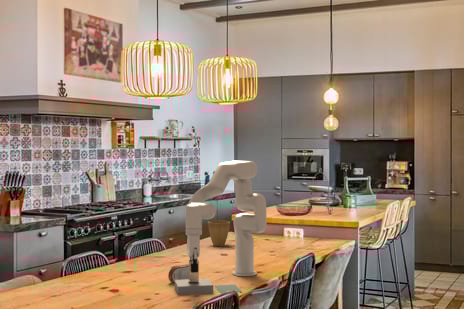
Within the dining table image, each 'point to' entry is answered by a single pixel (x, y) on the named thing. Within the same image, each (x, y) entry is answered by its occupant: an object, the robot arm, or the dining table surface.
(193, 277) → the plug
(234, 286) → the mat
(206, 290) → the grey plate with hole
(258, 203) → the robot arm
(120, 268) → the dining table surface
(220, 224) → the plant pot
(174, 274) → the tin
